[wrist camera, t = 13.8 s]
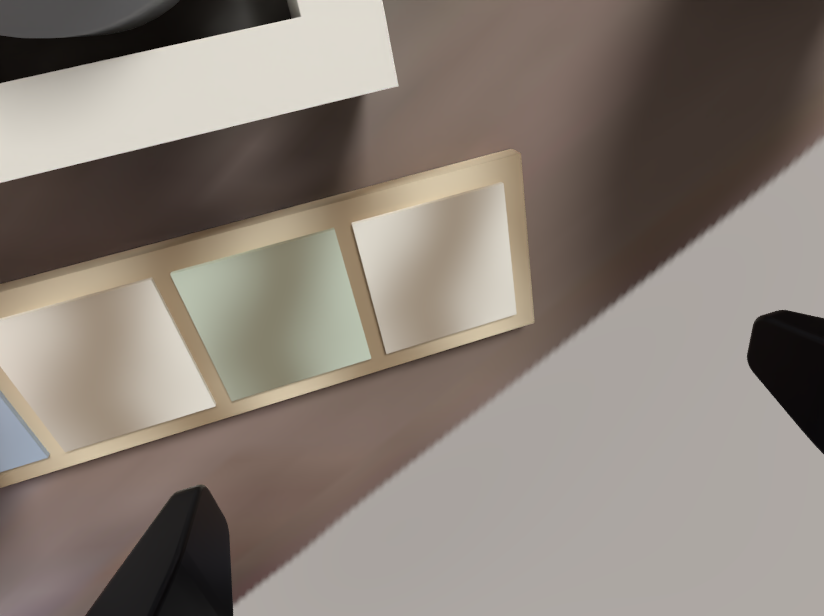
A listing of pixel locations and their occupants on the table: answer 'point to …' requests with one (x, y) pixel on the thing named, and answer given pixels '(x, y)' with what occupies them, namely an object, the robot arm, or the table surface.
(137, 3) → the dome
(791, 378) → the robot arm
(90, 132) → the frame
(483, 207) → the board
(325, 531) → the table surface
